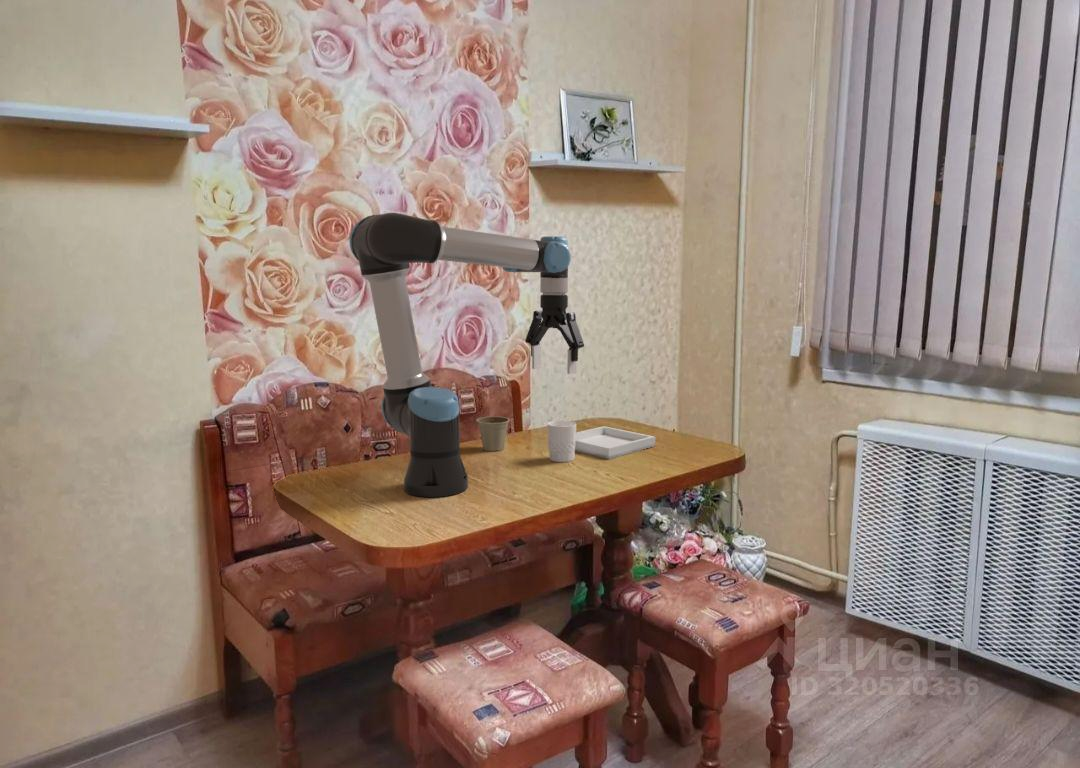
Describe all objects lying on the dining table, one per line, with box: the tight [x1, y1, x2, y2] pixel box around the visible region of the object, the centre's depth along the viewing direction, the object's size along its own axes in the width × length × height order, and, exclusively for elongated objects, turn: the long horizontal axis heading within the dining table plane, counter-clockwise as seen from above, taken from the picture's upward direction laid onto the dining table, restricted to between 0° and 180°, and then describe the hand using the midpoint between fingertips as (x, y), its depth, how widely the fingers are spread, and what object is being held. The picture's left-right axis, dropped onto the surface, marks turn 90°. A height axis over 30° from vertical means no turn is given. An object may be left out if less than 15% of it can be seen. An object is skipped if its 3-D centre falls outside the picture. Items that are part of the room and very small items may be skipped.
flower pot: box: [476, 415, 511, 452], centre depth 214 cm, size 9×9×9 cm
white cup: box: [546, 420, 577, 463], centre depth 202 cm, size 8×8×10 cm
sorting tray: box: [575, 425, 656, 460], centre depth 216 cm, size 20×20×3 cm
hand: (553, 370), depth 207 cm, fingers open, 13 cm apart
